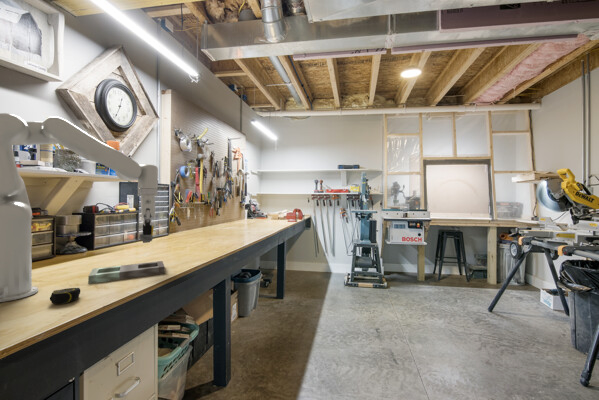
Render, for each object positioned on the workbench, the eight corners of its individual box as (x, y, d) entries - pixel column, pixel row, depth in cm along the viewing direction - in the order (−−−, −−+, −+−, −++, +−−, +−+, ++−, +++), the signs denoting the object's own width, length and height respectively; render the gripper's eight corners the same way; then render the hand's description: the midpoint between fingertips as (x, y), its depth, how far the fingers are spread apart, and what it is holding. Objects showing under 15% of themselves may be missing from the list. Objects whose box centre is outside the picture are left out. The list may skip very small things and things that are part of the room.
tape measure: (81, 296, 88) (81, 285, 88) (76, 303, 82) (76, 291, 82) (53, 300, 84) (53, 288, 84) (47, 308, 79) (47, 295, 79)
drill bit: (134, 243, 113) (146, 226, 121) (147, 248, 115) (158, 231, 122) (137, 237, 110) (148, 219, 117) (150, 242, 112) (160, 224, 119)
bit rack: (162, 267, 124) (162, 260, 124) (164, 273, 114) (164, 266, 114) (92, 275, 111) (92, 268, 111) (88, 283, 100) (88, 275, 100)
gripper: (158, 192, 110) (158, 235, 110) (156, 193, 125) (155, 231, 125) (137, 192, 106) (137, 236, 106) (137, 193, 121) (136, 232, 121)
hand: (147, 233), depth 116 cm, fingers closed on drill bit, 5 cm apart
